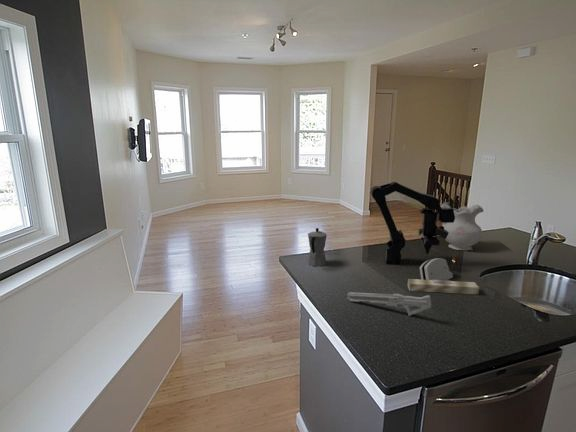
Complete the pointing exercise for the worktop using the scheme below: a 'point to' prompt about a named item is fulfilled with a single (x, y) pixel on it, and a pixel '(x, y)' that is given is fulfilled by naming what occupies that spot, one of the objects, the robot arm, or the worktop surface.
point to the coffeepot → (317, 248)
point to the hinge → (435, 270)
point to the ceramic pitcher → (463, 227)
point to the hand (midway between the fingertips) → (427, 253)
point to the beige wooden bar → (443, 286)
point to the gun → (394, 300)
